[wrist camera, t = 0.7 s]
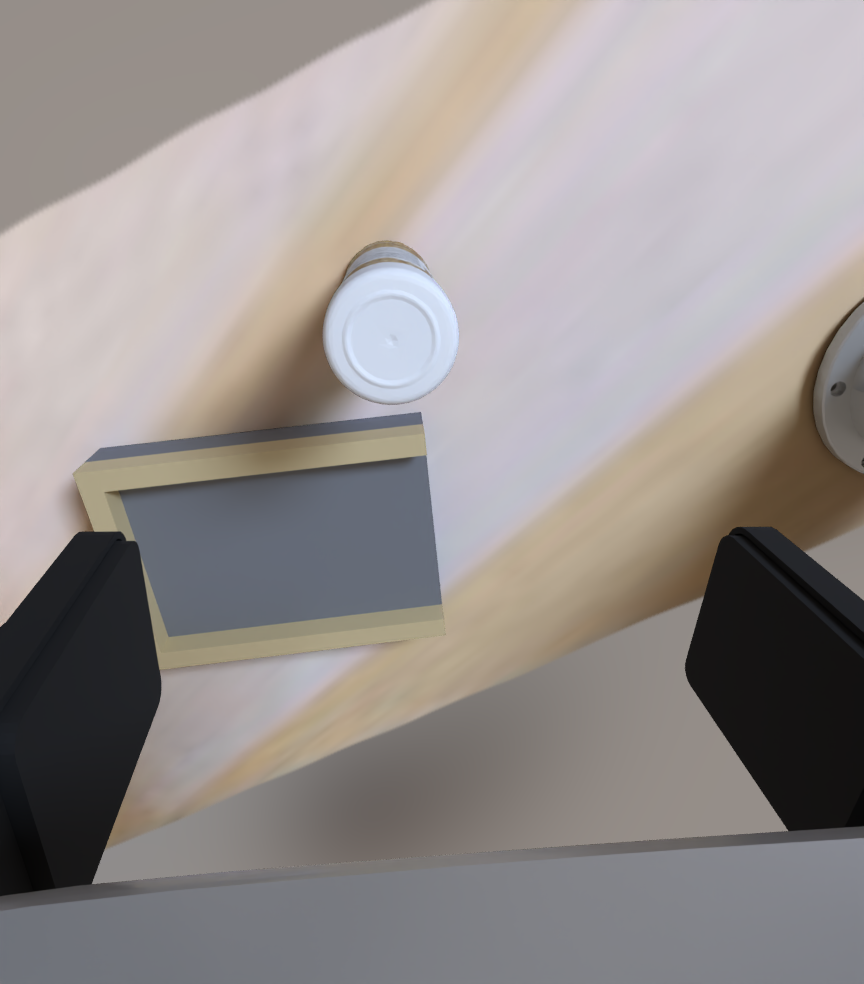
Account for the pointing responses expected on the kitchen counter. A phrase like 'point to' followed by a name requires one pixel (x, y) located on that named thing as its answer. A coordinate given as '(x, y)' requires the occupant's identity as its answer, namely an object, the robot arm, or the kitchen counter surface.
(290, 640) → the tray
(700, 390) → the kitchen counter surface
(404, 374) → the sprinkles bottle
